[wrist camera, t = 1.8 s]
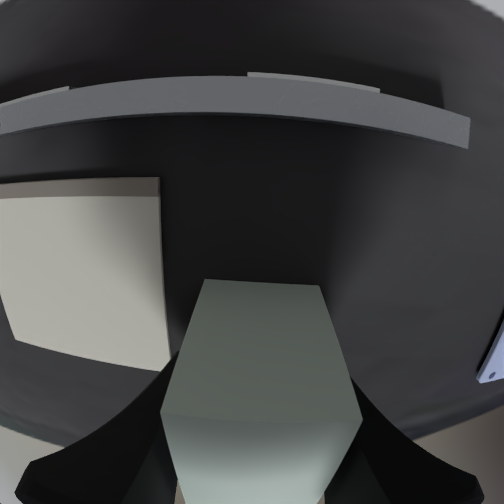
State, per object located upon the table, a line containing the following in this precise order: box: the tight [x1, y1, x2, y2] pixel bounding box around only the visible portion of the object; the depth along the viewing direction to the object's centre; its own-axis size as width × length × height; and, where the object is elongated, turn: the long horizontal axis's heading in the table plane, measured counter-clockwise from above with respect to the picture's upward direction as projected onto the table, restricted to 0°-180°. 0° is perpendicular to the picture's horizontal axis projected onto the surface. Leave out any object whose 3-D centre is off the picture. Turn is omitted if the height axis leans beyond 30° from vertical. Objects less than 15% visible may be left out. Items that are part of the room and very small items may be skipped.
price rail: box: [0, 72, 470, 149], centre depth 8 cm, size 22×1×2 cm, turn 87°
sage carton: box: [160, 279, 363, 504], centre depth 9 cm, size 4×6×6 cm
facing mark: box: [0, 177, 171, 371], centre depth 11 cm, size 9×8×1 cm
